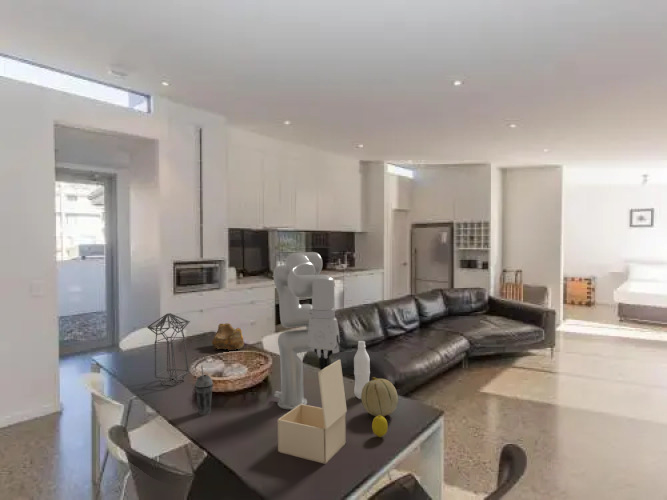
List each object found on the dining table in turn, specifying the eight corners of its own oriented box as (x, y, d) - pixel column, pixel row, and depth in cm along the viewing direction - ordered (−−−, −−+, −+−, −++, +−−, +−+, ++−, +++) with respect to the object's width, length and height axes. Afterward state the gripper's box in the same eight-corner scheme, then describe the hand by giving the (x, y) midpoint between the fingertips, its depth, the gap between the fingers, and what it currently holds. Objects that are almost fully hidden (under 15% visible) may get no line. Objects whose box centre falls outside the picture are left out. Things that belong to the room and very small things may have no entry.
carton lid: (317, 371, 139) (319, 371, 139) (338, 359, 153) (340, 359, 152) (324, 428, 139) (326, 428, 139) (345, 411, 152) (346, 411, 152)
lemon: (371, 434, 160) (370, 412, 159) (386, 433, 160) (385, 411, 160) (373, 441, 154) (373, 418, 154) (389, 440, 155) (389, 418, 154)
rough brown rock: (205, 349, 287) (203, 326, 286) (227, 342, 299) (226, 320, 297) (223, 357, 271) (221, 333, 269) (246, 349, 282) (244, 326, 280)
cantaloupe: (393, 425, 167) (393, 386, 166) (356, 420, 172) (356, 382, 171) (401, 410, 181) (401, 374, 180) (367, 406, 186) (366, 370, 185)
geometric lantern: (175, 389, 209) (171, 316, 208) (148, 387, 214) (144, 316, 213) (195, 378, 224) (191, 310, 223) (170, 376, 229) (166, 310, 228)
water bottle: (369, 400, 192) (368, 343, 191) (353, 399, 193) (352, 343, 192) (371, 394, 199) (370, 339, 198) (355, 393, 200) (354, 339, 199)
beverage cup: (217, 410, 184) (216, 362, 183) (207, 417, 177) (205, 368, 176) (202, 408, 186) (201, 361, 185) (191, 415, 179) (190, 366, 178)
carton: (278, 452, 148) (277, 419, 147) (301, 433, 161) (300, 403, 161) (325, 463, 139) (324, 429, 139) (345, 443, 153) (345, 412, 152)
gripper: (298, 314, 146) (299, 369, 147) (338, 317, 139) (339, 375, 140) (309, 311, 153) (310, 363, 154) (348, 313, 146) (349, 368, 147)
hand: (324, 368), depth 147 cm, fingers closed
